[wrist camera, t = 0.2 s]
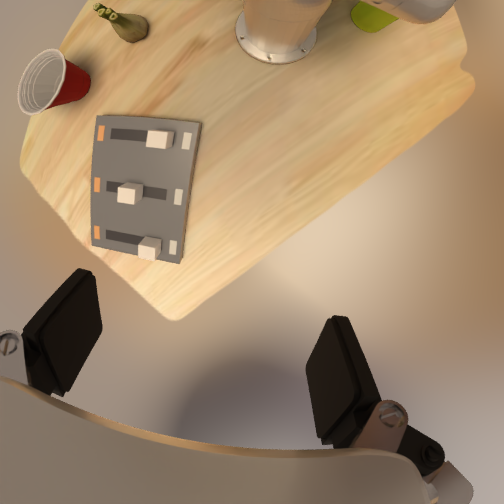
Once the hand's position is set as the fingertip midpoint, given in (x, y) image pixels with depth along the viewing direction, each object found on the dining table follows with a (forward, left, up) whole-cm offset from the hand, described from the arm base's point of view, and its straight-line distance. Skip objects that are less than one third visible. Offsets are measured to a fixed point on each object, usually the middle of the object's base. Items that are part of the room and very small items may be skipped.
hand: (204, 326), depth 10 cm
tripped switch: (+6, -17, -33) cm, 38 cm away
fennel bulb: (-22, -23, -36) cm, 48 cm away
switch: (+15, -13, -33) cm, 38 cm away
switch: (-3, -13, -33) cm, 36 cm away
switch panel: (+6, -17, -36) cm, 40 cm away
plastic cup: (-12, -33, -36) cm, 50 cm away
